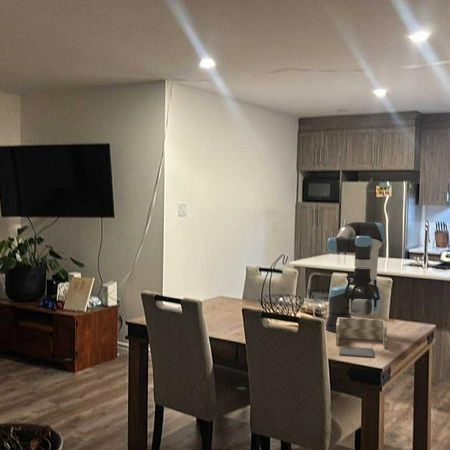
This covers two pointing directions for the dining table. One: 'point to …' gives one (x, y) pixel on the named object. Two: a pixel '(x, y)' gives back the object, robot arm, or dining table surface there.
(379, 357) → the dining table surface
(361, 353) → the rubber mat
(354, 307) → the ceramic mug
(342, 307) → the robot arm
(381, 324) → the open box
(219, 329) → the dining table surface
